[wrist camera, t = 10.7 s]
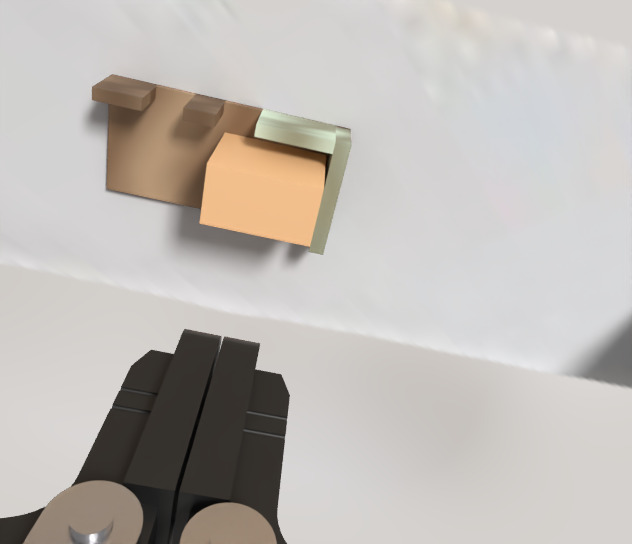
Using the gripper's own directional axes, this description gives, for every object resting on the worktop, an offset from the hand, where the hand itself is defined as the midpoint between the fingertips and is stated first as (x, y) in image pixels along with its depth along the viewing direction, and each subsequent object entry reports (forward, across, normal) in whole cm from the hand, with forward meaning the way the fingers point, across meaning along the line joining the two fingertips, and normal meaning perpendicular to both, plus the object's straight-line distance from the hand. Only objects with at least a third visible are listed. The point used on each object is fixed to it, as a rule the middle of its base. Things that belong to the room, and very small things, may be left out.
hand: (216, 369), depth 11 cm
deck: (+29, +4, +7) cm, 30 cm away
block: (+28, +1, +7) cm, 29 cm away
